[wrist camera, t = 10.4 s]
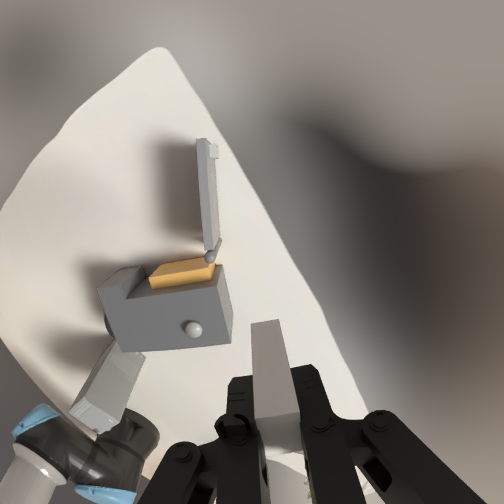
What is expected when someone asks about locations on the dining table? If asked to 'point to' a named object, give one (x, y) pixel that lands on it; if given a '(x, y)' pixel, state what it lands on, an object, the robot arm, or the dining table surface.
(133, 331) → the housing
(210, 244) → the door
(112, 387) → the skincare box
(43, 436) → the robot arm
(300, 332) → the dining table surface
